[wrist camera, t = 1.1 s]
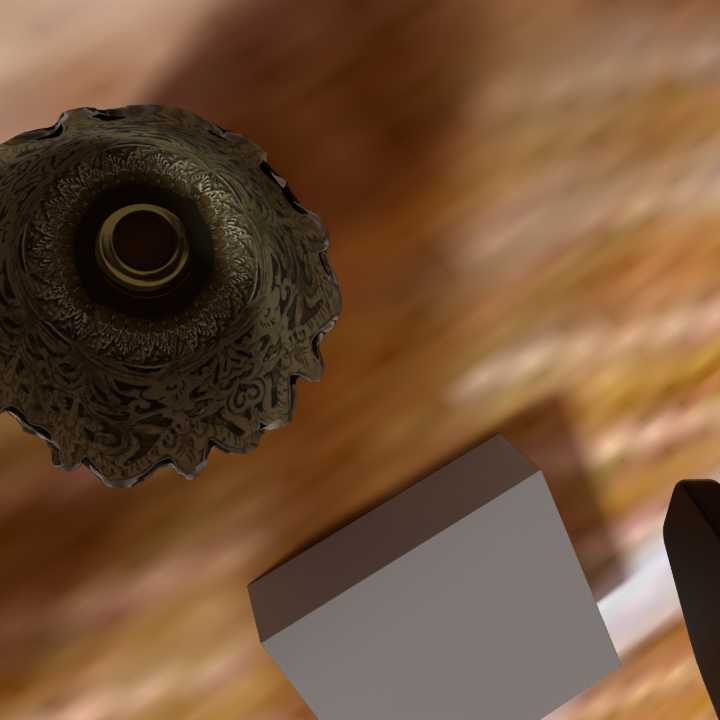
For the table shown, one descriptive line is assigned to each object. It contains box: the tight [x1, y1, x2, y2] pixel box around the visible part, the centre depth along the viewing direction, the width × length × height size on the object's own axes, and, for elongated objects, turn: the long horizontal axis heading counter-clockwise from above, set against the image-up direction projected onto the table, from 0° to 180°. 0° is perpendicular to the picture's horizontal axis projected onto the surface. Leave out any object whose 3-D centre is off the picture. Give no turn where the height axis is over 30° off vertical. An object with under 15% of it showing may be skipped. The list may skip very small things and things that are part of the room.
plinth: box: [247, 433, 622, 720], centre depth 27 cm, size 11×11×3 cm
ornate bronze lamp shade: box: [0, 105, 342, 489], centre depth 17 cm, size 8×7×8 cm
